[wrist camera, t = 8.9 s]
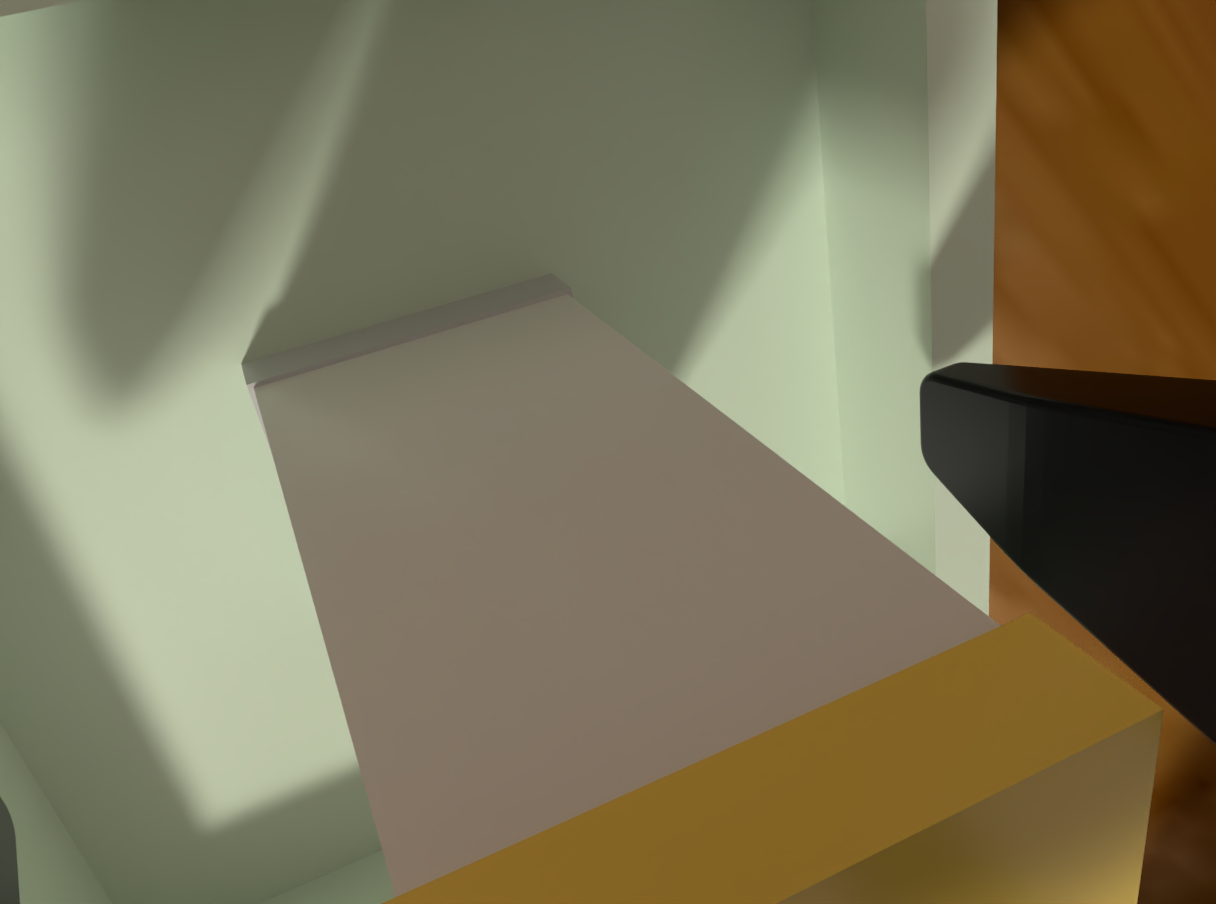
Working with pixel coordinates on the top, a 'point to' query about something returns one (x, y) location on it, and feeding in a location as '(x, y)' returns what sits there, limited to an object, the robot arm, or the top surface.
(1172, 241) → the top surface
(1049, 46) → the top surface
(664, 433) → the yellow-capped grey block
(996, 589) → the top surface
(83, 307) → the tray
